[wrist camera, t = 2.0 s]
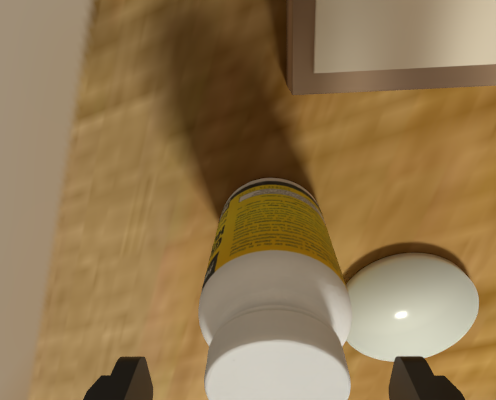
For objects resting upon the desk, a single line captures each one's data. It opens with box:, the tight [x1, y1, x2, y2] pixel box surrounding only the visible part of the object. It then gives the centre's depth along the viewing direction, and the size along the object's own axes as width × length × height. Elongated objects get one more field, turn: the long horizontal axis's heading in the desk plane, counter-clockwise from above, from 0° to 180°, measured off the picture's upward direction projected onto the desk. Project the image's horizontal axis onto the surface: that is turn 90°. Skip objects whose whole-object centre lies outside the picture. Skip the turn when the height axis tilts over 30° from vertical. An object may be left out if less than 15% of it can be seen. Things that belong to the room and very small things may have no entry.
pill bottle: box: [199, 178, 352, 400], centre depth 15 cm, size 6×6×11 cm
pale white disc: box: [346, 253, 479, 361], centre depth 22 cm, size 9×9×1 cm
